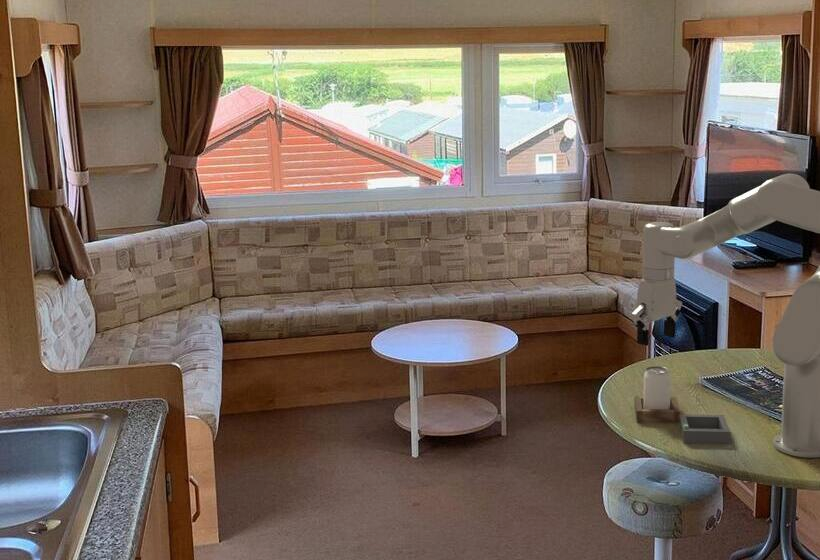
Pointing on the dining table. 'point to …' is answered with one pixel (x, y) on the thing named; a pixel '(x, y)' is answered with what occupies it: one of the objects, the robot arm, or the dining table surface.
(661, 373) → the can
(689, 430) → the gray square frame
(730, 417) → the dining table surface
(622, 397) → the dining table surface
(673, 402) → the brown square frame
